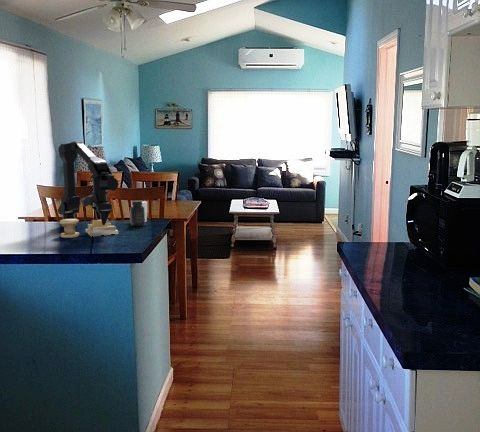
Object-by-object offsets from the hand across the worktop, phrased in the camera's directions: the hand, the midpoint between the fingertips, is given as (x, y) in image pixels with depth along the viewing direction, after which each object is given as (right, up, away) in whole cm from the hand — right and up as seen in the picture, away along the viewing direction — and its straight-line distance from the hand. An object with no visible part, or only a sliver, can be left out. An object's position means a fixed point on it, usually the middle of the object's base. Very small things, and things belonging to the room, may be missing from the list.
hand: (101, 223), depth 253 cm
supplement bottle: (+13, -2, +19) cm, 23 cm away
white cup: (+12, 0, +30) cm, 32 cm away
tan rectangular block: (0, -3, 0) cm, 3 cm away
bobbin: (-13, -6, -5) cm, 15 cm away
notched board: (0, -4, +1) cm, 4 cm away
